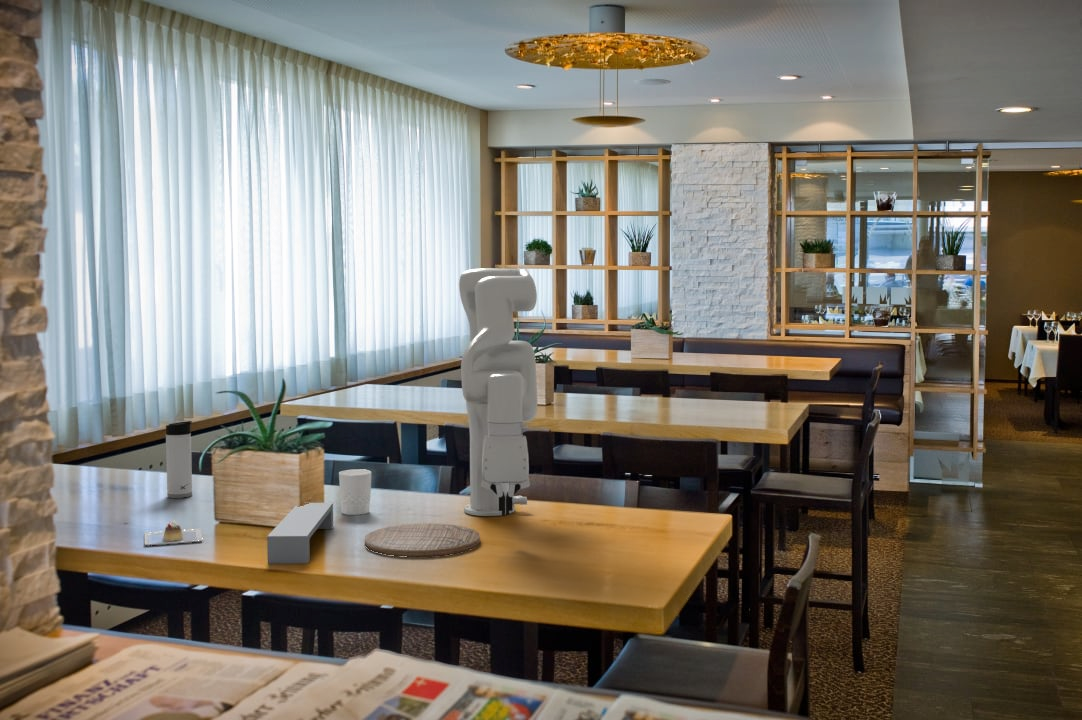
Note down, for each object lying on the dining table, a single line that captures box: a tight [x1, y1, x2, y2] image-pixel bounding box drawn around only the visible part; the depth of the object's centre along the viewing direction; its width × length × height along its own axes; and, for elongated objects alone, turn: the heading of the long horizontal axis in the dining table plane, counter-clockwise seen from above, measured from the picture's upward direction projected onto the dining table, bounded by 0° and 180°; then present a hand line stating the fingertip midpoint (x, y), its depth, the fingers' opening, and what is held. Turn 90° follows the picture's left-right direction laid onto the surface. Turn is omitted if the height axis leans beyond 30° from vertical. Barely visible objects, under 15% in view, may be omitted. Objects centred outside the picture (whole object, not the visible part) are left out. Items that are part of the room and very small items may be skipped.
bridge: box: [266, 502, 334, 565], centre depth 239 cm, size 8×33×6 cm, turn 2°
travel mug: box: [165, 420, 193, 499], centre depth 290 cm, size 6×7×20 cm
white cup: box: [338, 469, 372, 516], centre depth 271 cm, size 8×8×10 cm
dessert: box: [143, 520, 204, 547], centre depth 244 cm, size 12×12×5 cm
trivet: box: [364, 523, 481, 558], centre depth 240 cm, size 25×25×2 cm
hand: (505, 514), depth 239 cm, fingers closed
